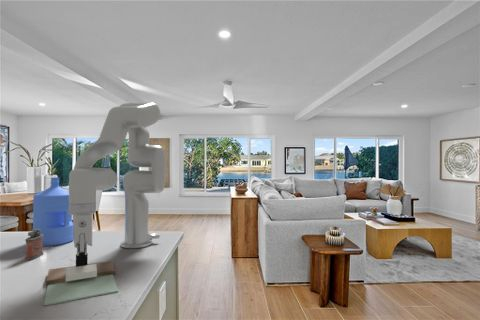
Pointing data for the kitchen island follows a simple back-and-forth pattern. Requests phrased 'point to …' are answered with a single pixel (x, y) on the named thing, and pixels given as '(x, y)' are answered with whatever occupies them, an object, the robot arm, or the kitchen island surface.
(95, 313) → the kitchen island surface
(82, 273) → the tile
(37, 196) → the water jug
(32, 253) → the lighter
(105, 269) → the riser
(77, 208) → the robot arm
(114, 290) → the mat
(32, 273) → the kitchen island surface
